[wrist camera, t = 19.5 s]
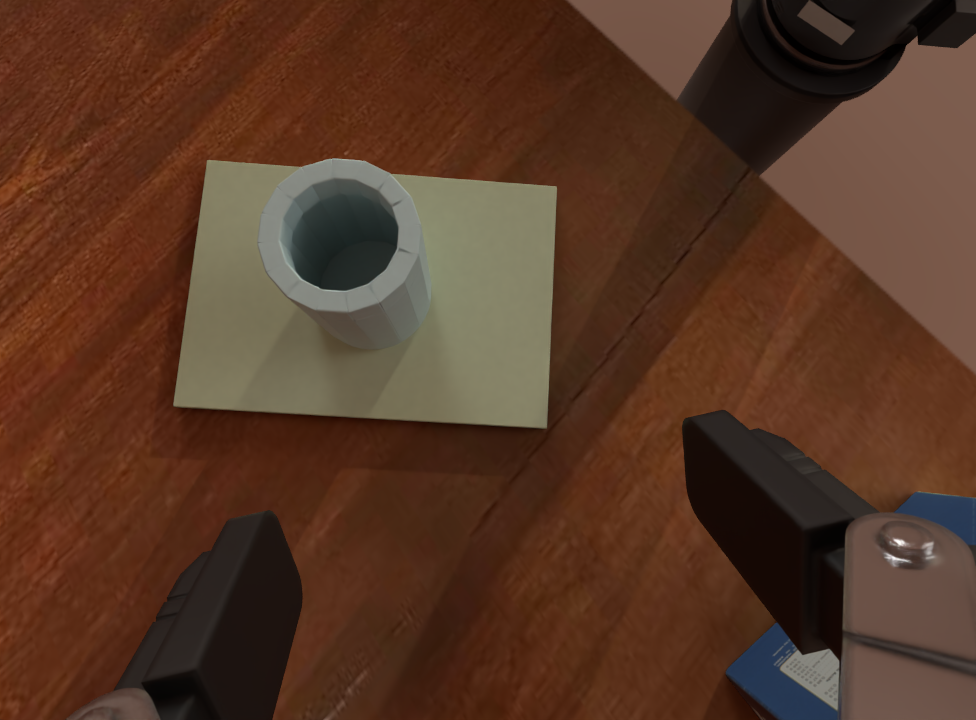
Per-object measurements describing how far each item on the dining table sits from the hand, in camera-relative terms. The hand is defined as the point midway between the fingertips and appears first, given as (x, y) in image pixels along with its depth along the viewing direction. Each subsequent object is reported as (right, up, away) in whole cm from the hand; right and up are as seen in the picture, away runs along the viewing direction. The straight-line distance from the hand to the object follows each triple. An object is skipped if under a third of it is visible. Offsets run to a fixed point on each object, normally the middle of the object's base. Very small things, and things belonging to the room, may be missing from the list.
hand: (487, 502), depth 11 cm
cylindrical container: (-6, +6, +20) cm, 22 cm away
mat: (-6, +6, +21) cm, 23 cm away
